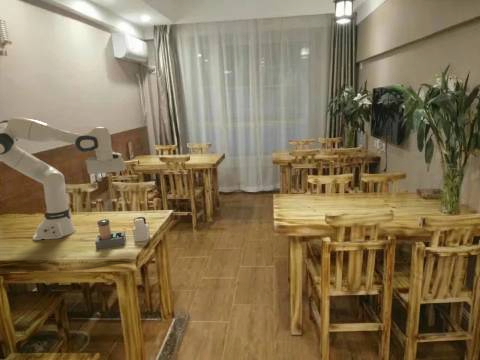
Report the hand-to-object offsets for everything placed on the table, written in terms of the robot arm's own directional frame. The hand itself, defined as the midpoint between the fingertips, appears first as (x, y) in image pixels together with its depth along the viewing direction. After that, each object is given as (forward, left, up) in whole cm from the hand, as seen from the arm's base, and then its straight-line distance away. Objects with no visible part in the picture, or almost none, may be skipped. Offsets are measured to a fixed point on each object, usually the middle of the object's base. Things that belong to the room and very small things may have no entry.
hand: (108, 180), depth 198 cm
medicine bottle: (+15, -18, -31) cm, 39 cm away
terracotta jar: (-3, -18, -30) cm, 35 cm away
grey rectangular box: (-1, -18, -31) cm, 36 cm away
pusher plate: (+2, -18, -30) cm, 35 cm away
